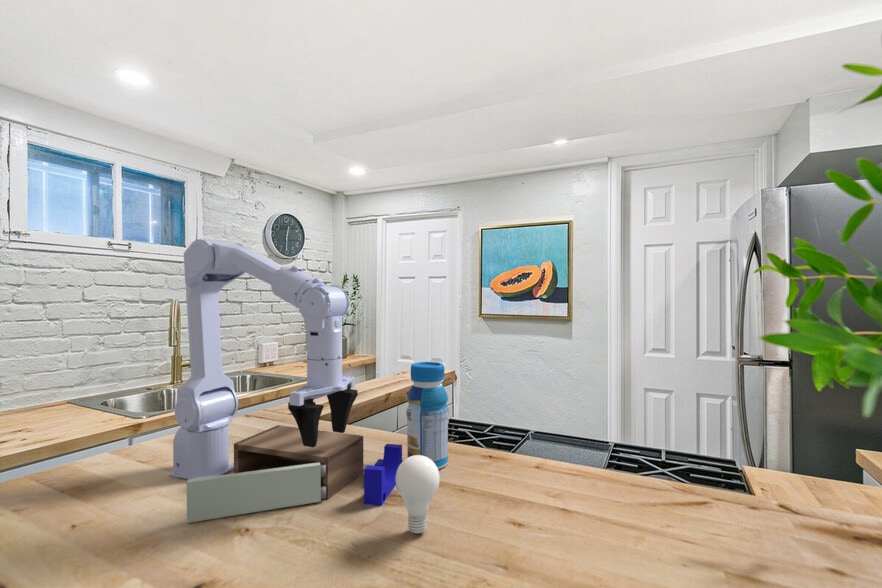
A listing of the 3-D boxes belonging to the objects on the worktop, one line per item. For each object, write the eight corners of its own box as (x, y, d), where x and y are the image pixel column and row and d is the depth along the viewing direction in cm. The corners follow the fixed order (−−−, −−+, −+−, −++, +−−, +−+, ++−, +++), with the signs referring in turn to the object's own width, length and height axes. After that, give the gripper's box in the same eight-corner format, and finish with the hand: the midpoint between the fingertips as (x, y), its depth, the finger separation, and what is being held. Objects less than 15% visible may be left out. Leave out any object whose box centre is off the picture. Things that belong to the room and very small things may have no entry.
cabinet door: (186, 522, 67) (186, 482, 67) (188, 518, 68) (188, 479, 68) (326, 500, 74) (326, 464, 74) (325, 497, 75) (325, 461, 75)
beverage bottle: (440, 475, 85) (440, 368, 84) (399, 469, 87) (399, 366, 87) (454, 458, 92) (453, 361, 92) (415, 454, 95) (415, 359, 95)
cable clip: (379, 474, 85) (379, 443, 85) (402, 476, 84) (402, 444, 84) (355, 504, 74) (355, 468, 73) (381, 507, 73) (381, 470, 73)
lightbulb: (423, 550, 60) (423, 468, 60) (386, 536, 64) (386, 459, 63) (448, 528, 66) (447, 453, 65) (412, 517, 69) (412, 445, 69)
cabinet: (234, 482, 82) (233, 443, 82) (278, 459, 93) (277, 425, 93) (328, 499, 75) (327, 457, 75) (363, 472, 86) (363, 435, 86)
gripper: (315, 366, 67) (315, 456, 67) (368, 353, 80) (369, 429, 80) (278, 363, 70) (279, 450, 70) (336, 351, 83) (336, 424, 83)
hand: (324, 438), depth 75 cm, fingers open, 7 cm apart
